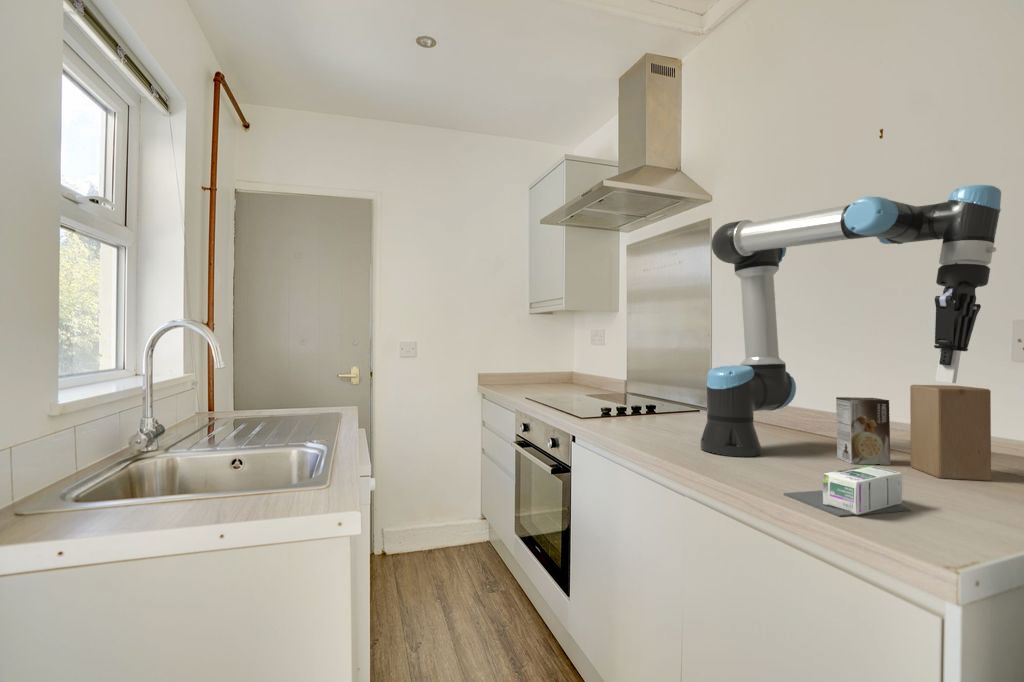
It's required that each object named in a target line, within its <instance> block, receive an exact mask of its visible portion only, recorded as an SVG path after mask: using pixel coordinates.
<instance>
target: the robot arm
mask: <svg viewBox="0 0 1024 682" xmlns="http://www.w3.org/2000/svg"><path fill="white" fill-rule="evenodd" d="M947 199H948V200H947V201H943V202H939V203H934V204H927V205H925V204H924V205H918V206H917V205H916V206H915V205H911V204H909V203H905V202H899V201H896V200H891V199H889V198H886V197H881V196H863V197H861V198H859V199H857V200H856V201H854V202H852V203H851V204H848V205H847V204H845V205H842V206H836V207H829V208H824V209H819V210H813V211H808V212H804V213H798V214H792V215H786V216H780V217H776V218H770V219H769V218H768V219H764V220H759V221H752V220H750V219H743V220H739V221H733V222H728V223H725V224H723V225H722V226H720V227H719V228H718V229H717V230H716V231H715V233H714V234H713V236H712V239H711V249H712V252H713V254H714V255H715V257H716V258H717V259H719V260H720V261H721V262H724V263H727V264H732V265H734V275H735V276H736V277H738V278H739V279H740V287H741V302H742V303H741V305H742V320H743V323H742V324H743V336H744V337H743V340H744V354H745V358H744V360H743V361H742V362H741V363H740V364H739V365H724V366H717V367H714V368H711V369H710V370H709V371H708V372H707V380H706V407H707V408H706V411H707V413H706V414H707V416H706V417H707V419H706V424H705V427H704V429H703V432H702V437H701V438H700V444H699V446H700V447H701V448H702V449H703V450H702V449H701V448H700V449H701V450H702V451H704V450H705V451H704V452H706V451H708V452H707V453H710V452H712V453H711V454H714V453H716V454H715V455H720V454H721V455H720V456H729V457H742V458H743V457H746V458H747V457H756V456H760V455H761V453H762V446H761V442H760V439H759V436H758V434H757V431H756V428H755V424H754V412H758V411H759V412H760V411H771V412H773V411H775V410H779V409H783V408H786V407H787V406H788V405H790V403H792V401H793V400H794V398H795V396H796V393H797V383H796V381H795V379H794V376H791V374H790V372H787V369H786V368H787V366H786V362H785V361H784V360H782V359H781V357H780V356H779V355H780V354H779V341H778V324H777V323H778V322H777V310H776V297H775V296H776V293H775V280H774V279H775V278H774V277H775V275H776V274H777V272H778V271H779V270H780V264H781V262H782V261H783V258H784V257H785V256H786V253H787V248H791V247H799V246H806V245H807V246H808V245H815V244H821V243H822V244H823V243H829V242H830V243H831V242H837V241H845V240H857V239H858V240H859V239H865V238H877V240H879V242H880V243H881V244H884V245H891V244H892V245H894V244H897V245H902V244H907V243H914V242H915V243H916V242H925V241H934V240H938V241H939V240H942V243H941V248H940V254H939V259H938V263H939V264H940V265H941V266H939V267H938V269H937V273H936V281H935V283H936V284H937V285H938V286H941V287H944V288H943V291H942V295H935V296H934V304H935V323H934V324H935V325H934V327H935V328H934V335H935V336H934V346H933V347H934V348H935V349H939V353H938V354H939V356H938V361H937V367H936V368H937V369H936V374H935V378H934V379H935V380H934V381H935V382H943V383H951V384H957V379H958V378H957V377H958V373H959V372H958V371H959V365H960V359H961V354H962V353H961V352H968V350H969V348H968V347H969V344H970V342H971V337H972V333H973V330H974V326H975V323H976V320H977V317H978V315H979V313H980V310H981V307H982V305H981V304H980V303H976V301H977V296H976V289H977V288H978V287H979V288H981V287H985V286H987V285H988V284H989V279H990V272H991V268H990V267H989V266H988V265H990V264H991V263H992V258H993V253H995V252H996V251H997V247H995V246H994V244H995V239H996V234H997V227H998V223H999V217H1000V213H1001V211H1002V210H1001V202H1002V191H1001V189H1000V188H998V187H996V186H994V185H989V184H973V185H967V186H962V187H960V188H956V189H953V190H952V191H951V192H950V194H949V197H948V198H947Z"/></svg>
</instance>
